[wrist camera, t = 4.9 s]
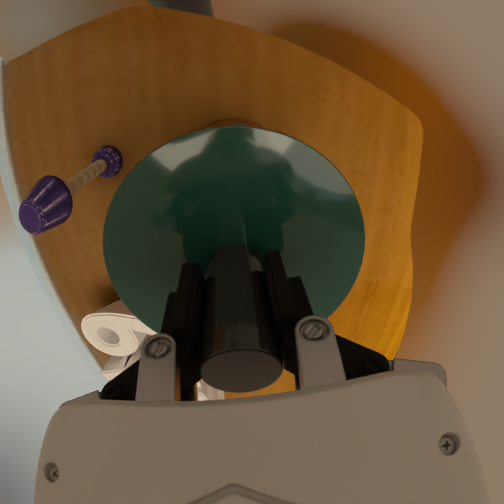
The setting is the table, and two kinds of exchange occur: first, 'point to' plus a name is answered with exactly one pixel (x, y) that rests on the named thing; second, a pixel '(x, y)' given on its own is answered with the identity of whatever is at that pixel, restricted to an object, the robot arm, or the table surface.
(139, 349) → the wavy white extrusion
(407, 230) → the table surface
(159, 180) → the lid
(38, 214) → the toy lamp
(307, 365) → the robot arm
